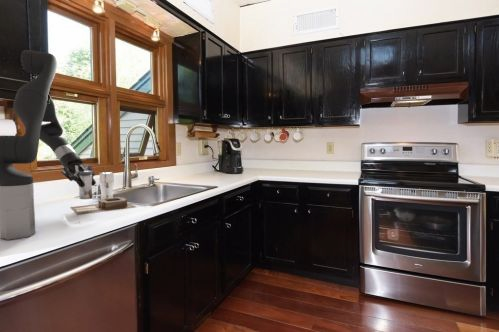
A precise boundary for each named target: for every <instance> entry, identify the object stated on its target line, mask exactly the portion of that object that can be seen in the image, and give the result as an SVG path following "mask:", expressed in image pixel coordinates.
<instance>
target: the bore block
mask: <svg viewBox="0 0 499 332" xmlns="http://www.w3.org/2000/svg"><path fill="white" fill-rule="evenodd" d="M135 208H137V206H135V205H134V204H132V203H130V202H129V201H128V199H127V198H125V197H120V196H115V197H114V196H113V198H104V199H101V198H99V199H98V202H97V203H95V204H94V203H93V204H88V205H85V204H84V205H78V206H77V205H76V206H70V209H71V210H72V211H73V213H74V214H76V215H77V216H80V215H81V216H82V215H88V214H89V215H90V214H95V213H104V212H111V211H119V210H126V209H127V210H128V209H135Z"/></svg>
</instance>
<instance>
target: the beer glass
mask: <svg viewBox="0 0 499 332" xmlns="http://www.w3.org/2000/svg"><path fill="white" fill-rule="evenodd" d="M114 184H115V178H114V172H113V171H112V172H111V171H110V172H109V171H108V172H107V171H105V172H104V171H103V172H99V188H100V192H101V197H100V199H104V198H114V195H113V192H114V186H115V185H114Z"/></svg>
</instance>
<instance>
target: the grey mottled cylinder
mask: <svg viewBox="0 0 499 332" xmlns="http://www.w3.org/2000/svg"><path fill="white" fill-rule="evenodd" d="M78 174H79V177H80V178H81V179H82V181H83V182H84V183H85V185H84V187H82V188H81V187H80V186H79V185H78V188H79V189H78V192H79V196H78V197H79V200H90V199H93V186H92V171H79V172H78Z"/></svg>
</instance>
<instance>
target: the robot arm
mask: <svg viewBox="0 0 499 332" xmlns="http://www.w3.org/2000/svg"><path fill="white" fill-rule="evenodd" d="M57 62H58V61H57V58H56V57H55V56H54V54H52V53H49V52H44V51H37V50H31V49H23V50H22V52H21V55H20V63H22V64H21V67H22V66H23V68H22V70H23V69H24V70H25V72H27V73H30V74H33V75H36V78H35V79H33V80H32V81H30V82H28V83H27V82H26V83H25V84H23V85H22V86H21V87H20V88H19V89H18V90H17V92H16V94H15V97H14V101H13V104H12V105H13V106H12V107H13V110H14V112H15V113H16V115H17V118H19V120H20V121H21V123H22V124H23V126H24V127H25V128H24V129H25V132H24V134H23V135H0V239H3V240H5V241H10V240H15V239H21V238H22V239H23V238H29V237H31V236H33V235H34V234H36V215H35V214H36V213H35V195H34V193H35V192H34V191H35V190H34V176H33V175H31V174H29V173H28V172H27V173H26V172H24V171H21V170H18V169H17V168H15V166H14V165H13V164H15V165H18V164H19V165H21V164H22V165H24V164H27V165H28V164H32V163H34V162H35V160H36V159H37V157H38V152H39V151H38V150H39V144H40V141H41V142H42V143H44V144H45V145H46V146H48V147H49V148H50V149H51V150H52V152H53V153H54V154H55V156H56V159H57V160H58V162H60V164H61V165H62V167H63V169H62V170H61V174H62V175H63V176H65V177H66V179H68V180H69V181H70V182H73V181H74V182H76V184H77V185H78V187H79V186H80V187H81V188H82V187H84V185H85V183H84V182H83V181H82V179H81V178H80V177H79V174H78V172H79V171H92V187H94V186H95V185H96V183H97V181H96V180H95V178H94V177H95V175H96V173H95V171H94V169H93V167H92V165H91V164H90V165H88V166H86V165H85V164H83V160H82V159H81V157H80V156H79V155H78V153H77V152H76V150H75V149H74V148H73V147H72V145H71V144H70V143H69V142H68V140H67V139H66V138H65V137H63V136H62V135H63V133H64V129H63V127H62V125H61V123H60V122H59V119H58V117H57V113H56V106H55V102H54V100H53V98H52V97H51V96H50V90H51V87H52V83H53V81H54V78H55V76H56V73H57V68H58V67H57V66H58V63H57ZM48 95H49V96H50V104H47V101H48Z"/></svg>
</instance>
